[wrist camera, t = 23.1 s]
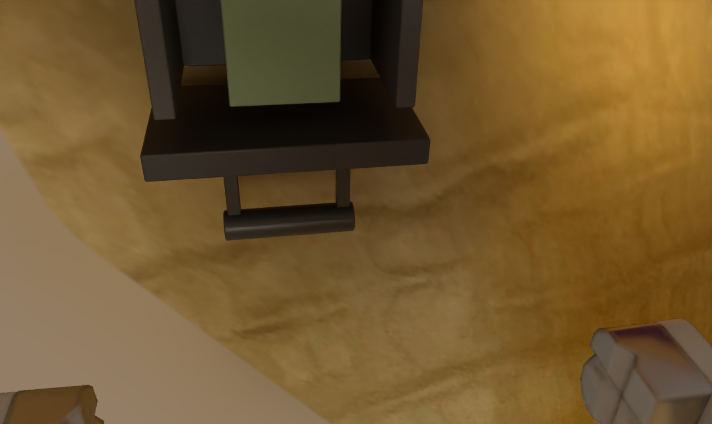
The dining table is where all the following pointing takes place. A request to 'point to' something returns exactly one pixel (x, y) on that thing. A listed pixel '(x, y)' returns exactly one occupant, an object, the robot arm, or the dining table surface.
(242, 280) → the dining table surface
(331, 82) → the block
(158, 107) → the small file drawer box
